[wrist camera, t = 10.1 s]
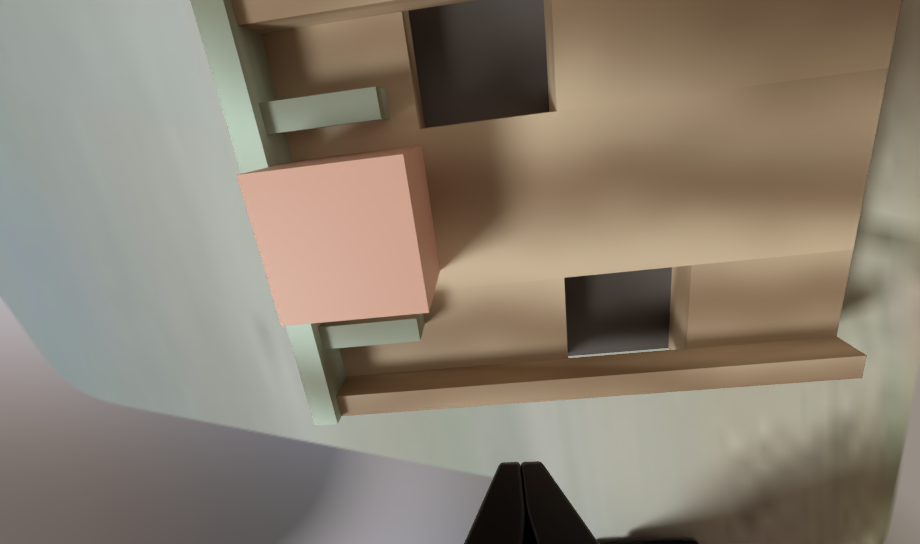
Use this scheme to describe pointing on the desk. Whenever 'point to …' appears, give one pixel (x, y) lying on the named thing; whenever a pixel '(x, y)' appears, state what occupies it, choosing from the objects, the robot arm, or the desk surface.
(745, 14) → the board
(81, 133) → the desk surface
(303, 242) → the block
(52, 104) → the desk surface
